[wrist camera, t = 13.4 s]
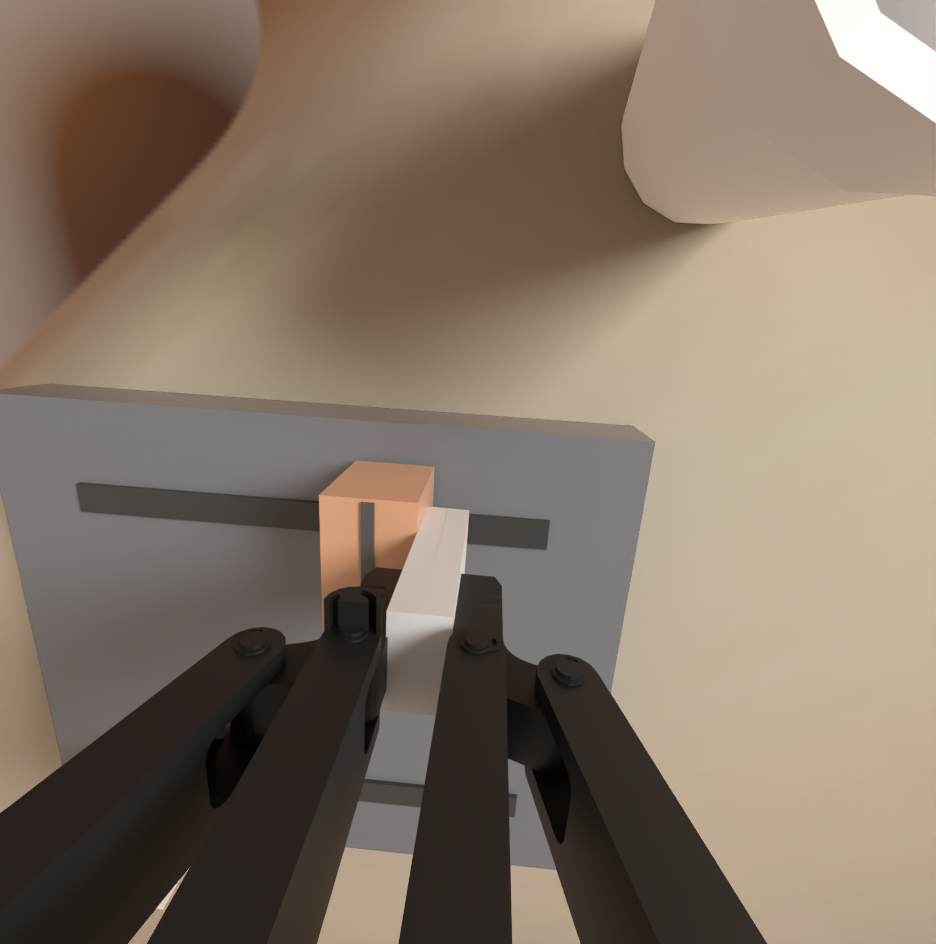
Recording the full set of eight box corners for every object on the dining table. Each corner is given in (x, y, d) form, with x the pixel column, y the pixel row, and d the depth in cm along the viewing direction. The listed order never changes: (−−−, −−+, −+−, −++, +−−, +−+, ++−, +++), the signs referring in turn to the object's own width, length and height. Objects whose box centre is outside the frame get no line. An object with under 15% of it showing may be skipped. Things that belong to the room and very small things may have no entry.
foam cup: (839, 245, 18) (1559, 72, 6) (593, 290, 19) (765, 220, 7) (852, -68, 16) (2169, -1539, 3) (566, 1, 17) (765, -947, 4)
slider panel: (570, 814, 27) (579, 876, 24) (117, 767, 28) (71, 821, 25) (633, 426, 21) (656, 442, 18) (47, 383, 22) (-27, 392, 19)
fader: (429, 584, 20) (412, 647, 16) (356, 578, 20) (321, 639, 16) (434, 466, 18) (417, 504, 14) (356, 460, 18) (317, 496, 14)
